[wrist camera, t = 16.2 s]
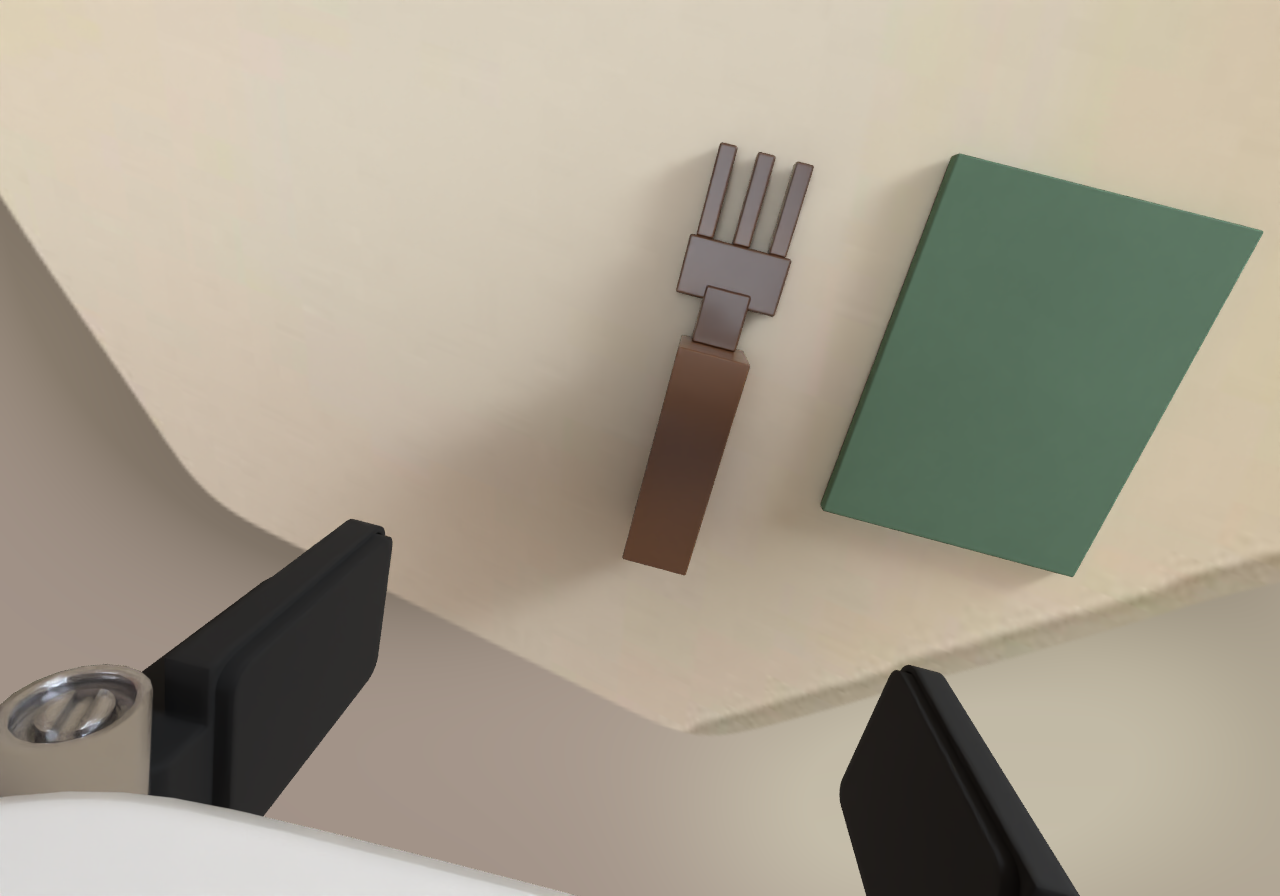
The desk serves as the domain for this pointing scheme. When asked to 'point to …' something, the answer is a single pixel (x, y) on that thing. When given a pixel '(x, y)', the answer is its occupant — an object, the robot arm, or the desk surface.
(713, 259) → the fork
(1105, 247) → the towel
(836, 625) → the desk surface
